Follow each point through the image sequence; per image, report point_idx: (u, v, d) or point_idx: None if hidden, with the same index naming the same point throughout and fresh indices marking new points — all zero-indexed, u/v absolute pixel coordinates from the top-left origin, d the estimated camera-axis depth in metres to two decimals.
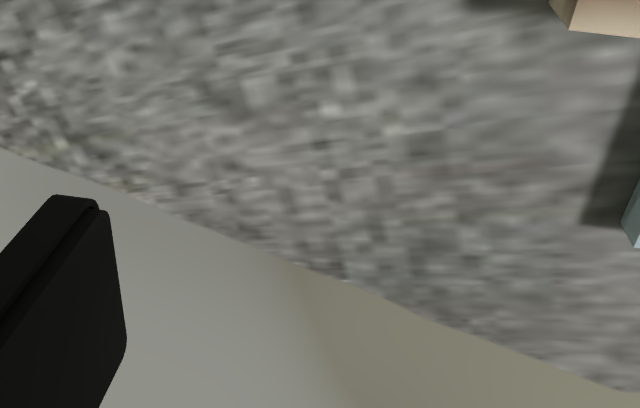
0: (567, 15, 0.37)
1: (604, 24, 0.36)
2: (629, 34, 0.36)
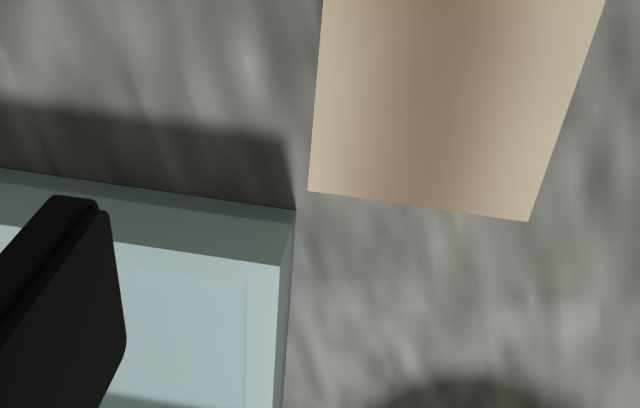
0: None
1: (342, 51, 0.14)
2: (319, 113, 0.15)
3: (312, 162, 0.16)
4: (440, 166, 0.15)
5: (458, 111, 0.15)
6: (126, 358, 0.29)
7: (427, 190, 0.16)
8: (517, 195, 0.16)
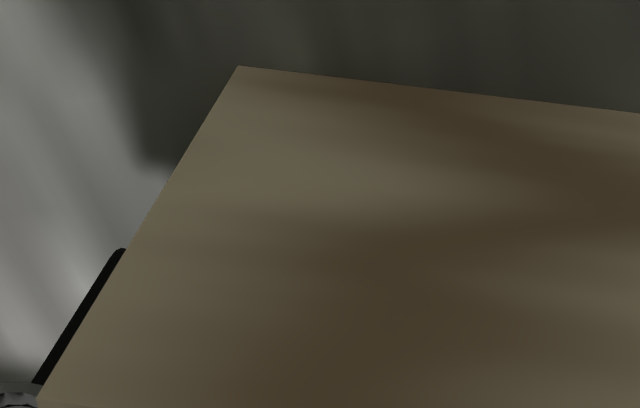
0: (171, 301, 0.05)
1: None
2: None
3: None
4: None
5: None
6: None
7: None
8: None
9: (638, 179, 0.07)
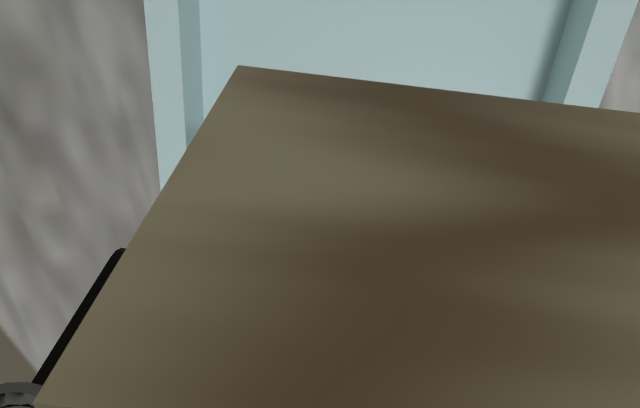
0: (170, 304, 0.05)
1: None
2: None
3: None
4: None
5: None
6: None
7: None
8: None
9: None
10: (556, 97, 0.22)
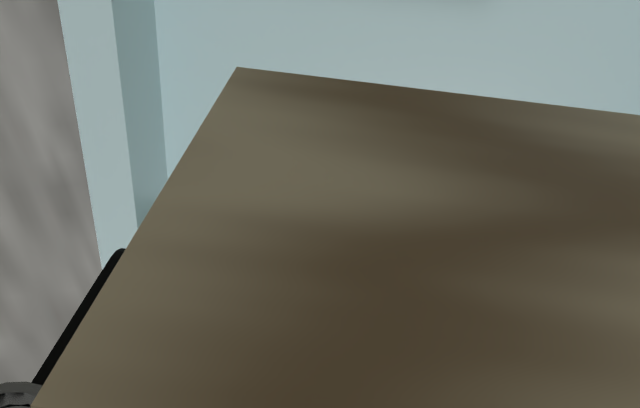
0: (168, 307, 0.05)
1: None
2: None
3: None
4: None
5: None
6: None
7: None
8: None
9: (639, 182, 0.07)
10: None
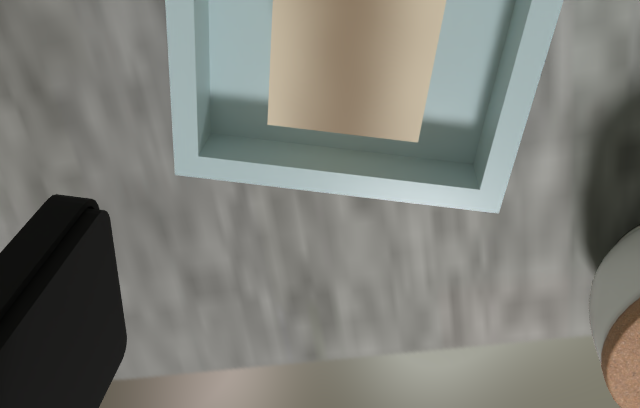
0: None
1: (286, 24, 0.21)
2: (273, 67, 0.22)
3: (270, 103, 0.23)
4: (356, 104, 0.23)
5: (364, 64, 0.22)
6: None
7: (349, 121, 0.23)
8: (409, 123, 0.23)
9: None
10: (510, 57, 0.26)
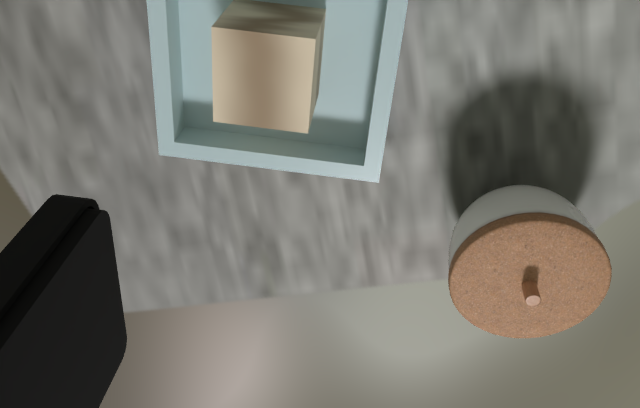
0: (225, 22, 0.35)
1: (221, 60, 0.35)
2: (214, 86, 0.36)
3: (214, 108, 0.37)
4: (267, 109, 0.36)
5: (270, 84, 0.36)
6: None
7: (264, 120, 0.37)
8: (301, 121, 0.37)
9: (310, 16, 0.37)
10: None
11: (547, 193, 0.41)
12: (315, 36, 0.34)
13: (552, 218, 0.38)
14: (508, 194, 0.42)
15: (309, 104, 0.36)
